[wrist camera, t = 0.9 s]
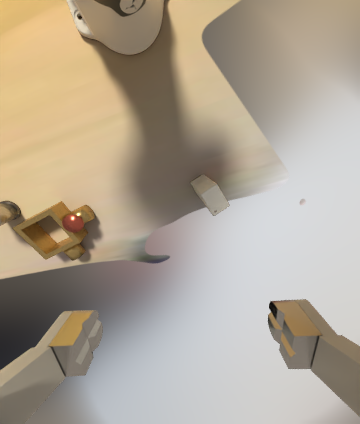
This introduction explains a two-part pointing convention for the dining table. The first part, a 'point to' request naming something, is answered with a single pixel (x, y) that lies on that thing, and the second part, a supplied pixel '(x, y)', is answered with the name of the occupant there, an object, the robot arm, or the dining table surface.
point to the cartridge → (8, 212)
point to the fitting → (67, 221)
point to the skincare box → (210, 194)
